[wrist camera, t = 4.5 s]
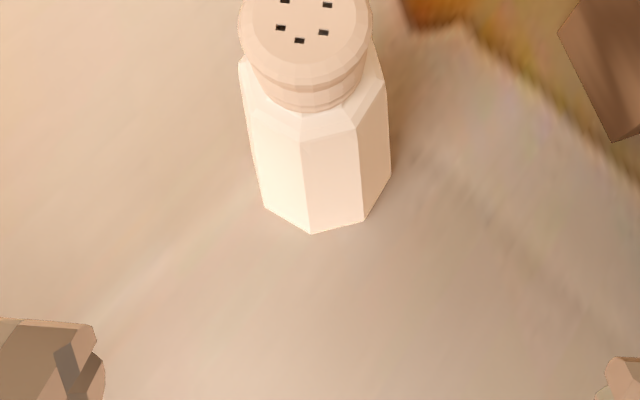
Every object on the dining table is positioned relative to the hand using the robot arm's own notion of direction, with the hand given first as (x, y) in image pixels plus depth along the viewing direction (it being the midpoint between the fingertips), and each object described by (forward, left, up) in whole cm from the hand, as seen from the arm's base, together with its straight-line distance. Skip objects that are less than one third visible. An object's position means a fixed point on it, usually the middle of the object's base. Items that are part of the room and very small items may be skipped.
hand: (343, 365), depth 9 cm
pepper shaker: (+7, 0, -12) cm, 14 cm away
